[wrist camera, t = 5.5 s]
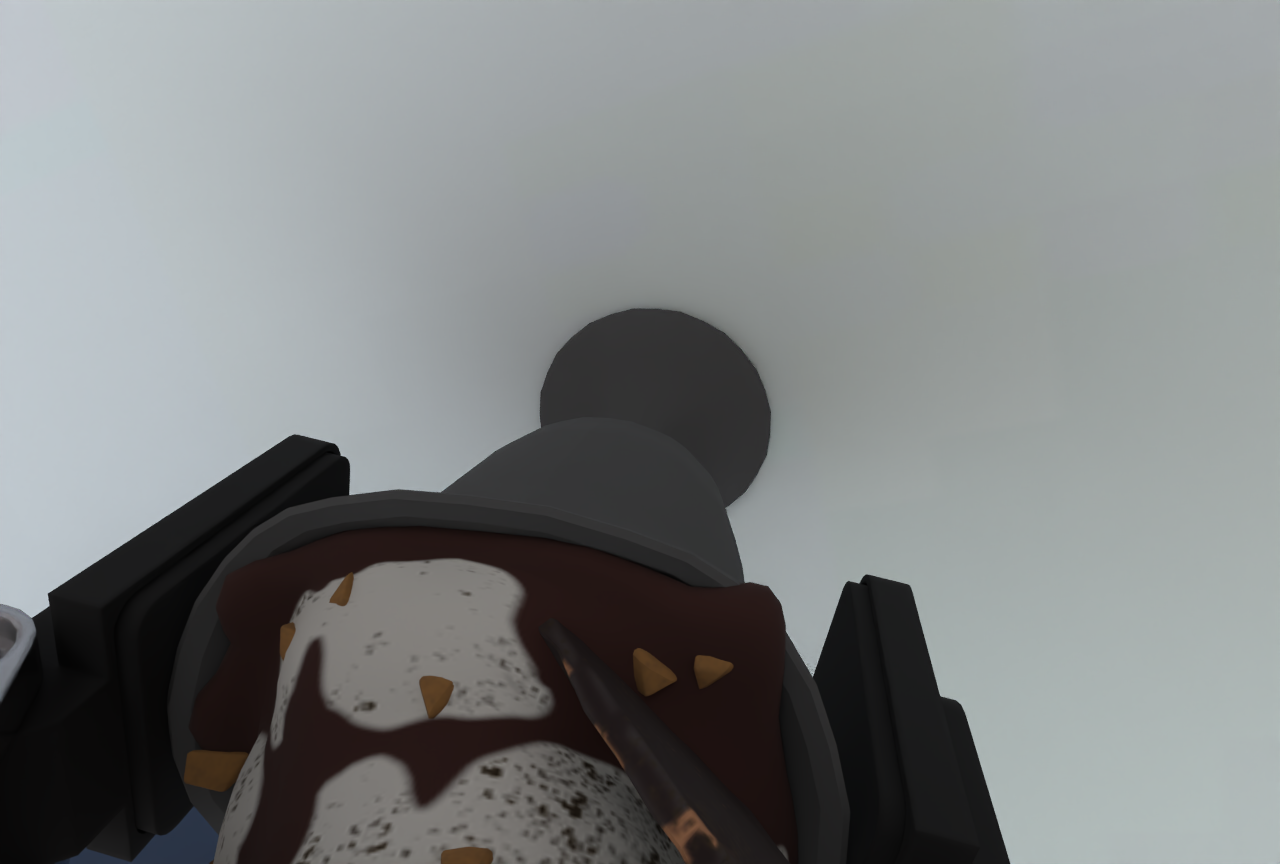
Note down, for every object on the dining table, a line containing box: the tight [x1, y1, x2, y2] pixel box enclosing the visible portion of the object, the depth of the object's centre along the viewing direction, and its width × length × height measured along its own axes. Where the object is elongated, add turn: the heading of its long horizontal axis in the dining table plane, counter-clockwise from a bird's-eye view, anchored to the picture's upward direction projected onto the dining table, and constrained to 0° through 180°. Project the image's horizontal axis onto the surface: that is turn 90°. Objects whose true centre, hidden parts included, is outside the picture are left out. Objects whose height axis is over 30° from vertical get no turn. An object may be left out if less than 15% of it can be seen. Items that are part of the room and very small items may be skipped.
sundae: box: [167, 309, 850, 864], centre depth 10 cm, size 7×7×15 cm
